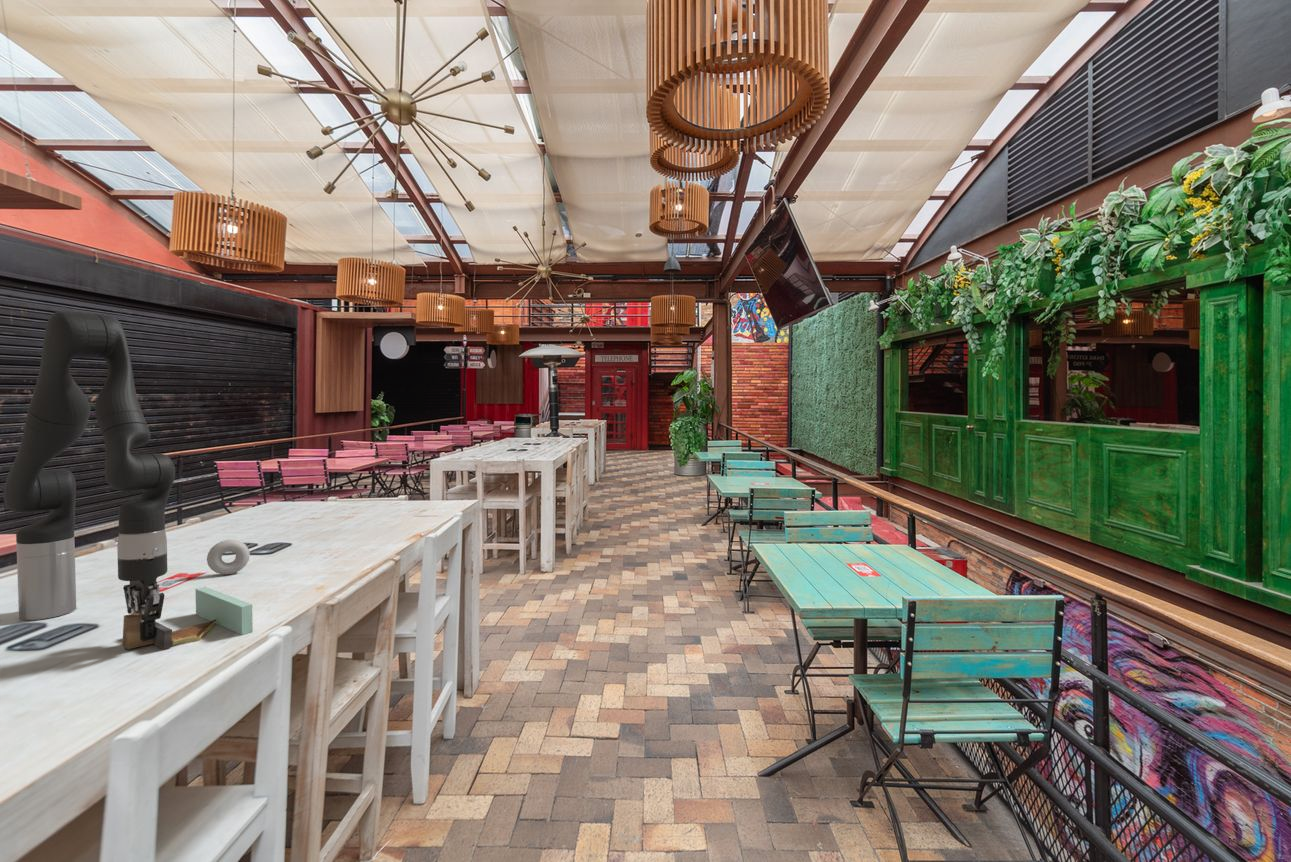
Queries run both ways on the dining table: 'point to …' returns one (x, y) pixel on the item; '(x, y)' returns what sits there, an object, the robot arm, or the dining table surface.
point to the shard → (191, 633)
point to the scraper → (133, 633)
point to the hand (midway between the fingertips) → (144, 637)
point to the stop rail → (224, 610)
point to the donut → (224, 546)
